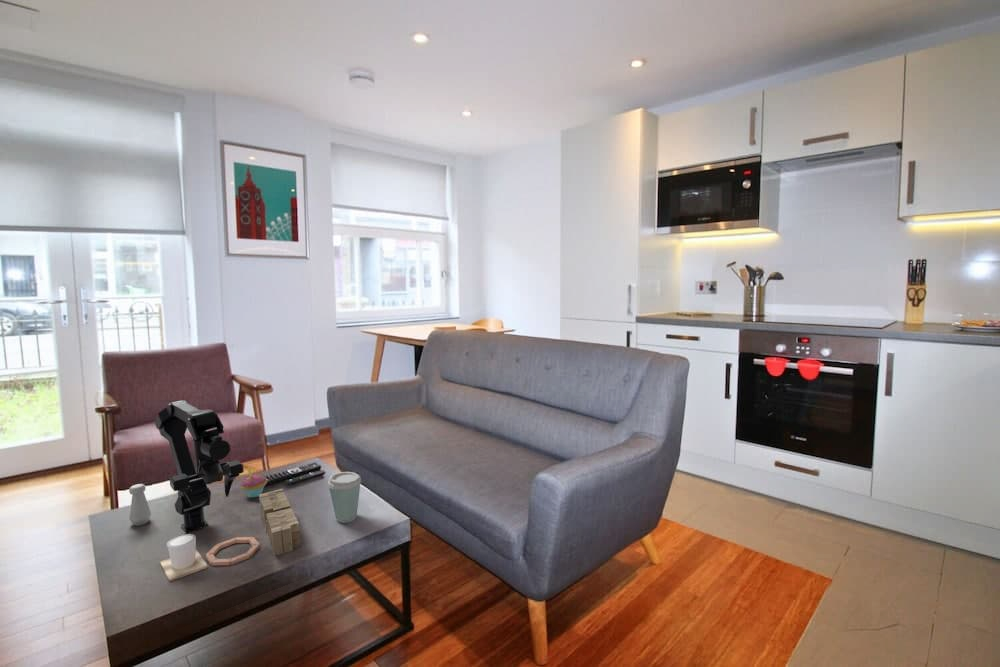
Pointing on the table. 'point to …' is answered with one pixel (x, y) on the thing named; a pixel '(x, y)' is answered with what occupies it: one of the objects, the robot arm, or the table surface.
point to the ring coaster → (234, 560)
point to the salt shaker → (139, 505)
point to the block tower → (279, 521)
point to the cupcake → (253, 484)
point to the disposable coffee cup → (345, 495)
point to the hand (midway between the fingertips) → (210, 501)
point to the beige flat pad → (178, 573)
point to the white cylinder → (182, 551)
